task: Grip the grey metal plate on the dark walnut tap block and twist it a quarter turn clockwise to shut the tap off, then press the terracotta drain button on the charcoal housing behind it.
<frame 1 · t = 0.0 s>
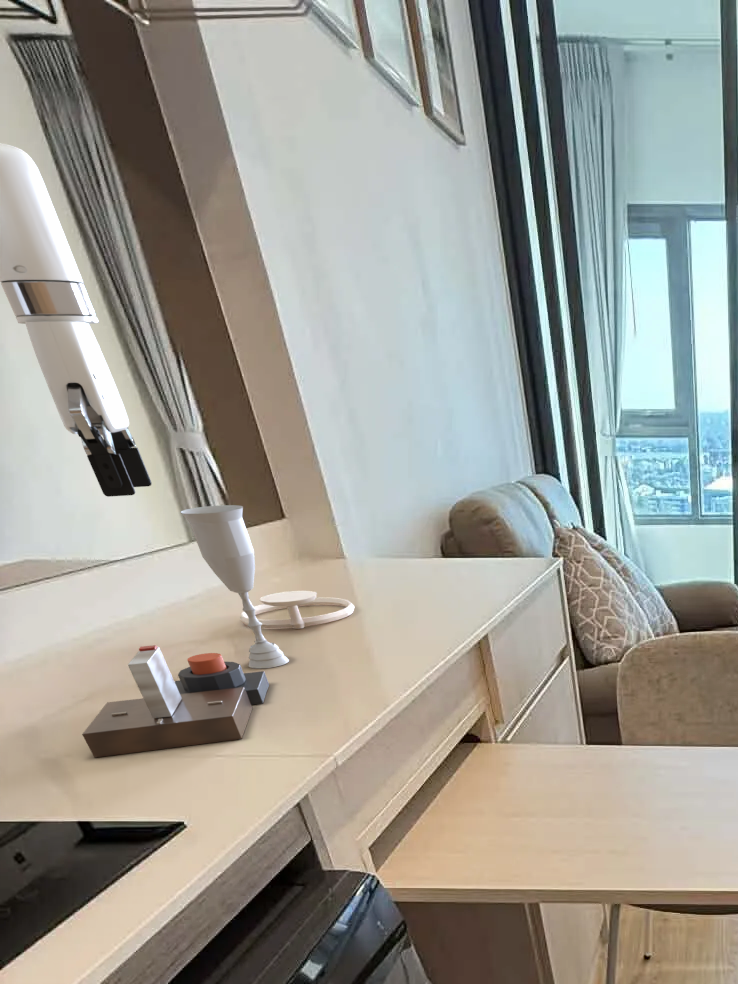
hand: (129, 490, 102), 20 cm above the counter, tool pointing down, fingers open, 9 cm apart
grey metal plate: (155, 681, 90), point 5 cm above the counter, hinge at 90.0°
tap block: (178, 731, 93), on the counter
hand towel holder: (300, 620, 134), on the counter
chalice: (269, 664, 115), on the counter
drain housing: (221, 699, 102), on the counter
drain button: (207, 664, 100), point 4 cm above the counter, slide at 0.1 cm
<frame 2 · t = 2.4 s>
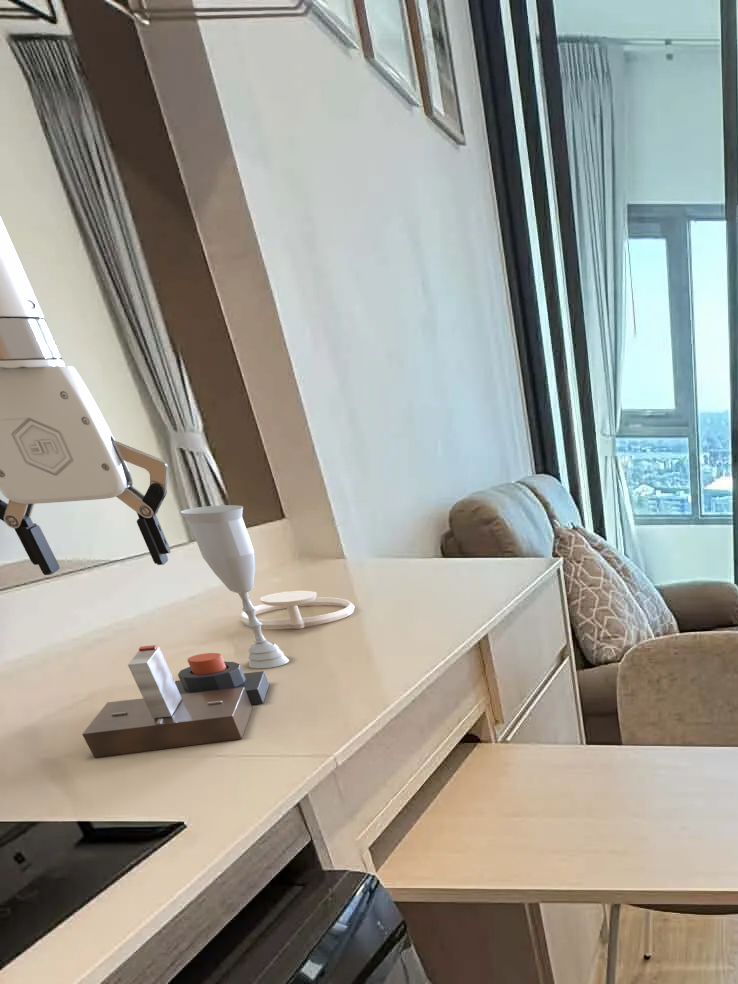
hand: (108, 567, 84), 16 cm above the counter, tool pointing down, fingers open, 9 cm apart
nothing on the counter moved.
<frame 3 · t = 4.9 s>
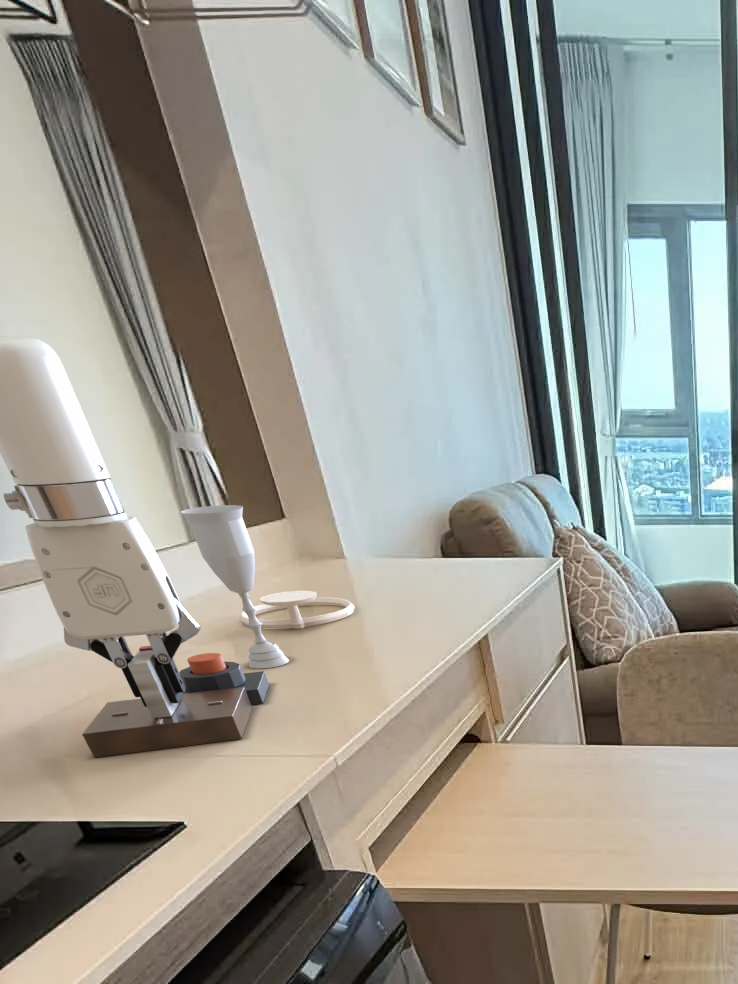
hand: (164, 700, 91), 3 cm above the counter, tool pointing down, fingers closed on grey metal plate, 2 cm apart
grey metal plate: (155, 681, 90), point 5 cm above the counter, hinge at 89.6°, touching gripper
everything else where it was.
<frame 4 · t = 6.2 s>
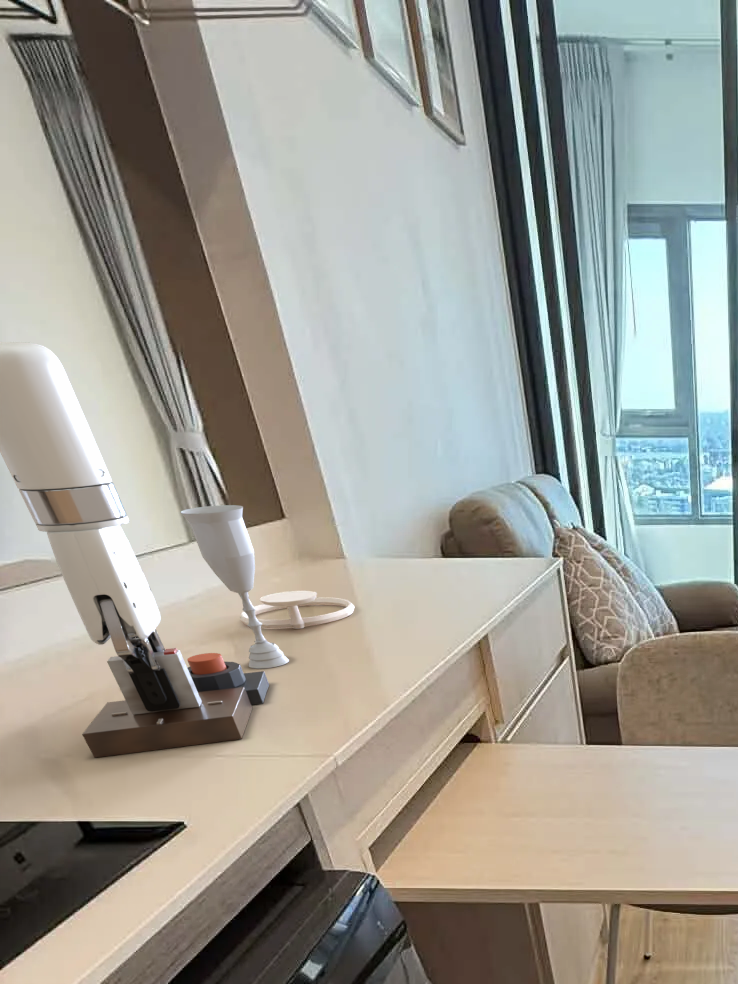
hand: (166, 703, 92), 3 cm above the counter, tool pointing down, fingers closed
grey metal plate: (155, 681, 90), point 5 cm above the counter, hinge at 0.6°
everything else where it was.
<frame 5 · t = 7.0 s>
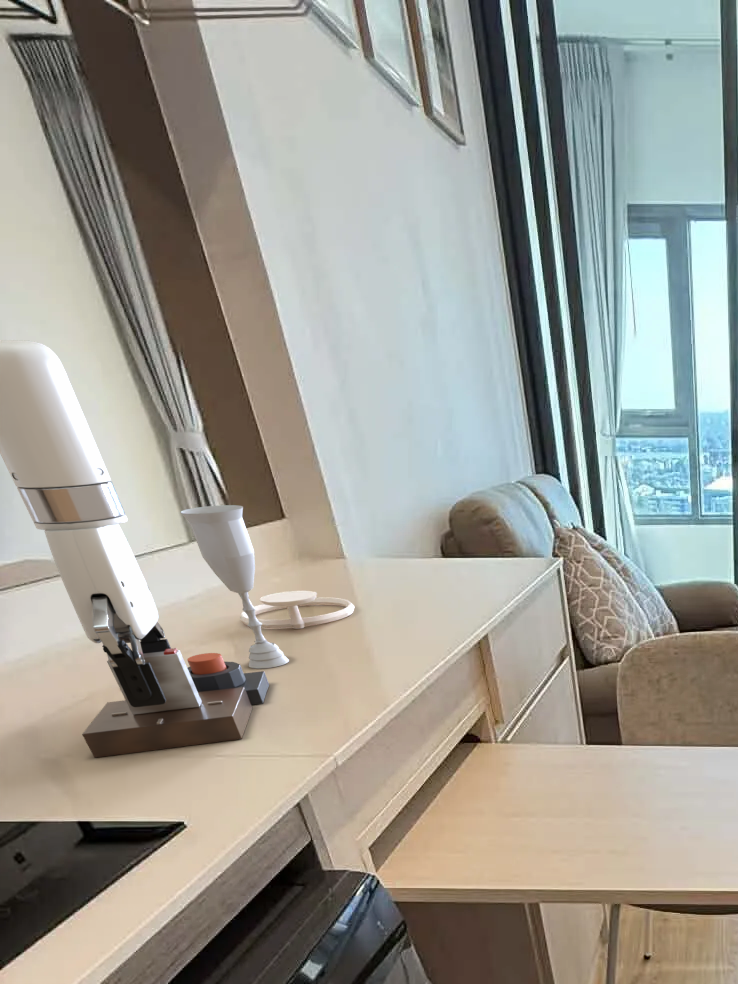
hand: (158, 691, 91), 4 cm above the counter, tool pointing down, fingers open, 9 cm apart
nothing on the counter moved.
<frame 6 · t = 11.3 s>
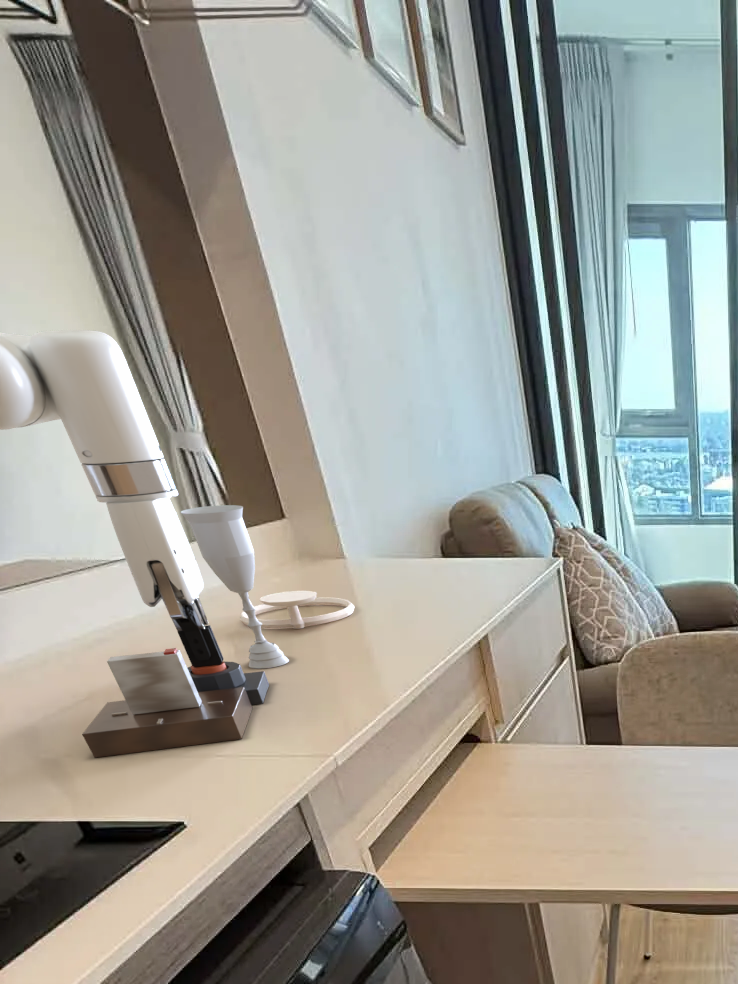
hand: (208, 664, 100), 4 cm above the counter, tool pointing down, fingers closed
drain button: (210, 672, 100), point 3 cm above the counter, slide at -0.7 cm, touching gripper
everything else where it was.
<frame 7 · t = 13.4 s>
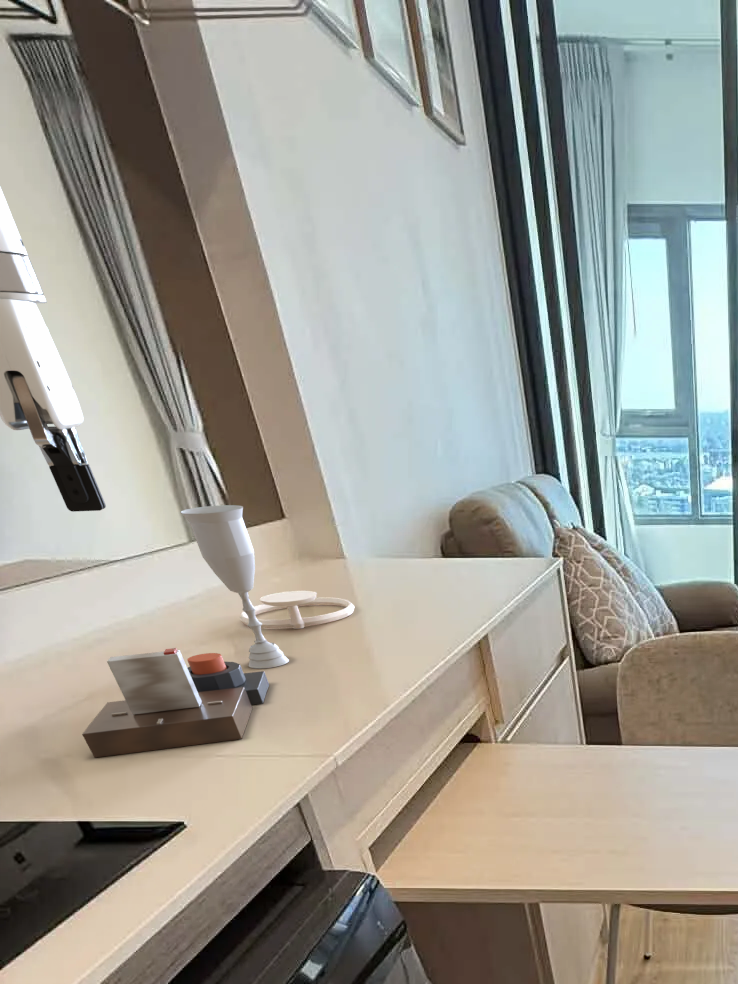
hand: (87, 509, 90), 20 cm above the counter, tool pointing down, fingers closed
drain button: (207, 664, 100), point 4 cm above the counter, slide at 0.1 cm
everything else where it was.
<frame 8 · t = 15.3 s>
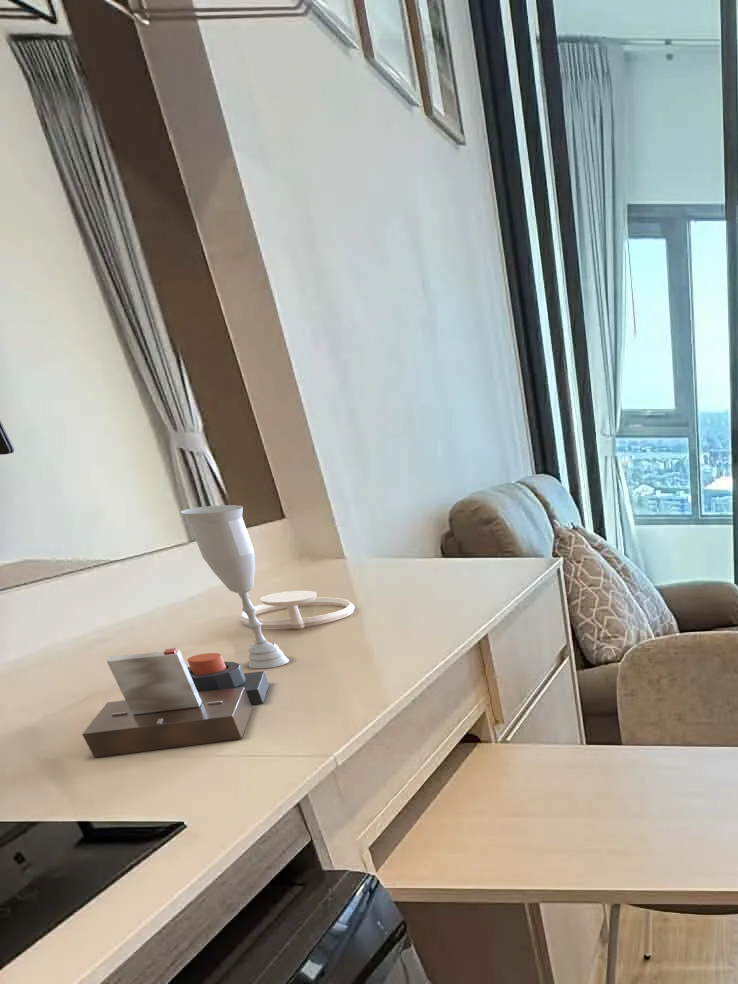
nothing on the counter moved.
at the end: grey metal plate at +1° (first picture: +90°); drain button pushed in 1.0 cm at the most during the clip, back to where it started at the end; drain button slide at 0.1 cm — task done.
